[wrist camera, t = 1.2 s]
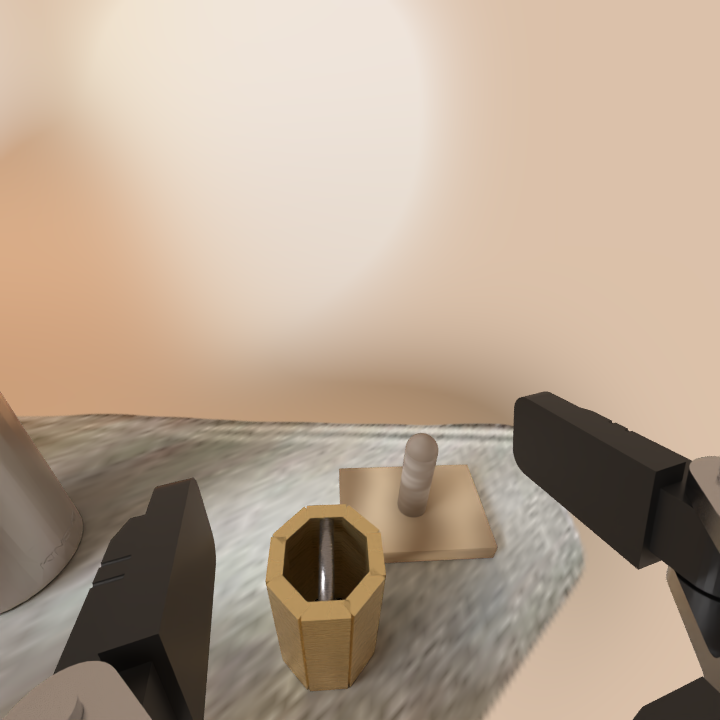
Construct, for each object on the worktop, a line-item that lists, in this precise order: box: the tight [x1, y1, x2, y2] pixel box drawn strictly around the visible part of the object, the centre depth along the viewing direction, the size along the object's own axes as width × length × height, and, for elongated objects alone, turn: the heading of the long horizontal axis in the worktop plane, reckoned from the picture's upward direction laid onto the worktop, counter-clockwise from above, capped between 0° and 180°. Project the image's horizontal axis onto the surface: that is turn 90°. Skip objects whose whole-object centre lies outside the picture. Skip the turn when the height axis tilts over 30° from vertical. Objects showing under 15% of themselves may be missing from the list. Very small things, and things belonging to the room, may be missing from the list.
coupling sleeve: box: [266, 504, 386, 691], centre depth 23 cm, size 6×6×10 cm
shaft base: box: [339, 433, 497, 563], centre depth 31 cm, size 12×8×10 cm, turn 94°
